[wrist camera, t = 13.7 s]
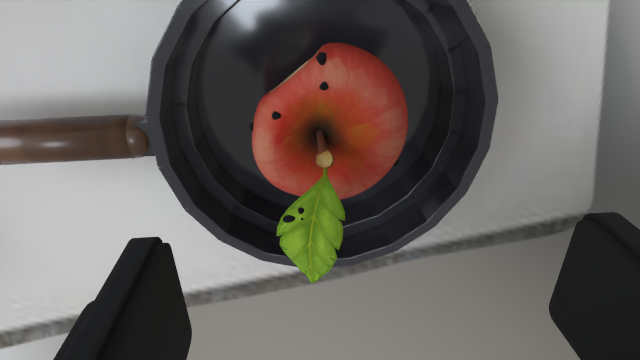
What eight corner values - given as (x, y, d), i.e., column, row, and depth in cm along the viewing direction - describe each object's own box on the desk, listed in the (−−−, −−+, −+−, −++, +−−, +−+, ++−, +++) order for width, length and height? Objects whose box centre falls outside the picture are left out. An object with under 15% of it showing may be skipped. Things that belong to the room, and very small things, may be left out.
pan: (480, -65, 19) (530, -73, 15) (442, 214, 26) (469, 258, 22) (142, -56, 18) (102, -62, 14) (200, 229, 26) (183, 277, 22)
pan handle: (171, 107, 19) (159, 121, 18) (179, 145, 20) (169, 163, 18) (-84, 119, 19) (-123, 135, 17) (-64, 158, 20) (-99, 177, 18)
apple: (246, 38, 20) (213, 96, 11) (383, 22, 20) (459, 67, 11) (271, 176, 24) (261, 301, 15) (387, 161, 24) (446, 278, 15)
